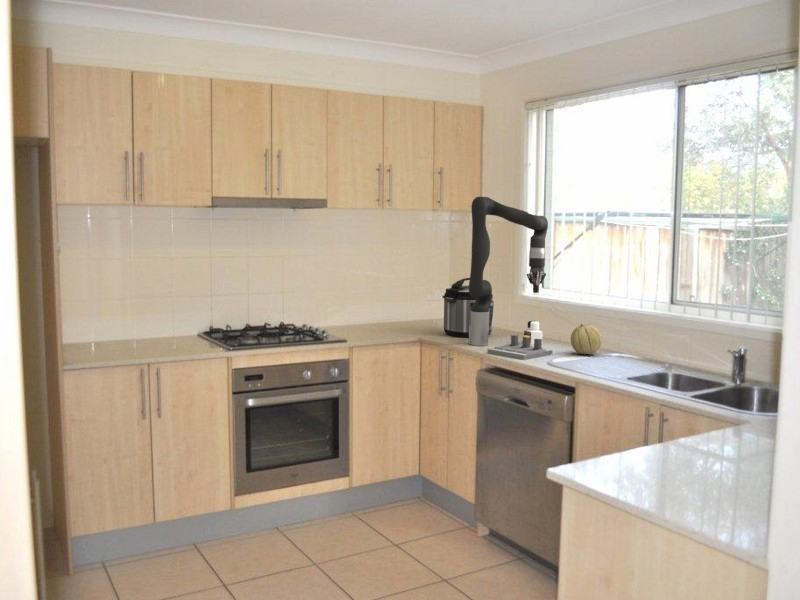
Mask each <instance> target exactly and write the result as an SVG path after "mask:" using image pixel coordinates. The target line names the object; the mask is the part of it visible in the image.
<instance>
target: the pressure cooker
mask: <svg viewBox="0 0 800 600" xmlns="http://www.w3.org/2000/svg"><path fill="white" fill-rule="evenodd" d="M465 281H470V277H464V278H461V279H459V280H458V281H456V282H454V283H452V284H451V287H447V288H445V292H444V295H441V296H442V299H443V331H444V333H445V334H446V335H448V336H453V337H461V338H469V326H470V325H471V306H472V305H473V304H474V303H475V301H476V299H475V298H473V297H471V295H470V293H469V285H463V284H464V282H465ZM493 295H494V294H493V293H492V298H491V306H490V308H489V335H488V336H490V334H492V333H491V332H492V331H493V318H494V317H493V315H494V297H493Z"/></svg>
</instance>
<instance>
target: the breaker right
mask: <svg viewBox="0 0 800 600" xmlns="http://www.w3.org/2000/svg"><path fill="white" fill-rule="evenodd" d="M542 345H543V338H542V339H538V338H537V339H534V345H533V347H534V348H533V351H534V350H539V349H542Z"/></svg>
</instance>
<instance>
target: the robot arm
mask: <svg viewBox="0 0 800 600" xmlns="http://www.w3.org/2000/svg"><path fill="white" fill-rule="evenodd" d="M470 207H471V222H472V223H471V224H472V230H471V257H470V258H471V260H470V261H471V262H470V265H471V266H470V273H469V274H470V275H469V278H470V280H468V281H469V282H468V286H469V293H470V295H471V297H473V298H475V299H476V301H475V303H474V304H473V305H472V306H471V325H470V326H469V337H468V344H469V345H471V346H476V347H480V346H481V347H484V346H488V345H489V336H490V335H489V308H490V306H491V298H492V294H493V290H492V289H493V288H492V284H491V283H490V282H489V280H487V279H484V270H485V267H486V265H487V262H488V261H489V257H490V254H491V240H490V236H489V232H488V230H487V225H486V224H487V223H486V222H487V221H486V220H487V215H488V216H496V217H499V218H502V219H504V220H506V221H508V222H510V223H513V224H516V225H519V226H523V227H525V228H527V229H530V230H533V235H531V237H530V242H529V252H528V253H529V254H528V255H529V256H528V259H529V260H528V266H529V267H530V269H529V273H526V278H527V279H528V281H529V283H530V285H532V292H533V293H534V294H538V293H539V292H540V285H541V284H543V281H544V280H545V278H546V275H547V273H546V272H544V268H545V266H546V237H547V232H548V229H549V221H548V218H547V217H545V216H544V215H536V214H531V213H529V212H528V211H526V210H522V209H519V208H515V207H511V206H508V205H505V204H503V203H500V202H497V201H496V200H494V199H492V198H490V197H488V196H475V198H474V199H473V200H472V202H471V206H470Z"/></svg>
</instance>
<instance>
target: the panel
mask: <svg viewBox="0 0 800 600" xmlns="http://www.w3.org/2000/svg"><path fill="white" fill-rule="evenodd" d="M510 344H511V343H509V344H503V345H497V346H496V345H495V346H494V347H493V348H488V349H487V352H486V353H487V354H489V355H496V356H500V355H501V356H500V357H505V356H506V358H511V359H516V358H517V360H522V359H524V360H523V361H526V360H530V359H531V358H532V359H537V358H542V357H547V356H546V355H548V356H552V355H553V350H551V349H546V348H542V347H541V348H542V349H539V350H534V351H533V348H534V346H532V345H530V347H528V348H522V344H519V345H517V346H510ZM521 348H522V349H521ZM551 354H552V355H551ZM541 356H542V357H541ZM525 359H526V360H525Z"/></svg>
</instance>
